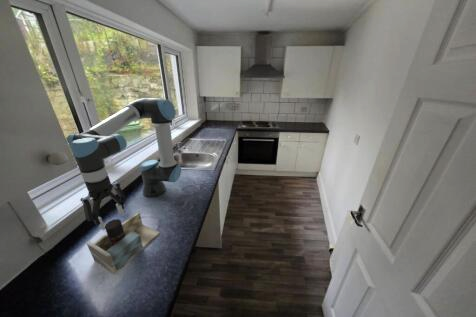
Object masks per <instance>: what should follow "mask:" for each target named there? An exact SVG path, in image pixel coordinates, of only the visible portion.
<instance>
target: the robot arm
mask: <svg viewBox="0 0 476 317" xmlns="http://www.w3.org/2000/svg"><path fill="white" fill-rule="evenodd" d="M175 118H176V109H175V106H174V104H173V102H172V101H170V100H169V99H166V98H153V97H151V98H149V97H142V98H139V99H136V100H133V101H131V102H129V103H127V104H126V105H124V106H123V108H122V109H121V110H119V111H117V112H116V113H114V114H112V115H111V116H108V117H107V118H105V119H104V120H102V121H100V122H98V123H97V124H95V125H93V126H92V127H89V128H87V129H86V130H85V131H83V132H81V133H79V132H76V133H71V134H69V135H68V136H67V137H66V138H65V140H66V139H67V141H68V143H69V145H70V148H71V149H70V151H71V153H72V156H73V157H74V160H75V162H76V164H77V166H78V169H79V172H80V175H81V177H82V180H83V181H84V184H85V187H86V189H87V191H88V195H87V196H85V197H81V198H80V199H79V201H81V202H82V206H83V211H84V217H85V220H86V221H88V222H92V221H93V223H94V224H95V225H96V226H98V227H99V229H100V230H101V231H106V229H105V223H104V221H103V218H102V217H101V216H99V215H100V210H101V203H102V202H103V200H104V199H105V198H108V197H110V199H112V200H113V201H115V202H116V203H115V207H116V209H117V212H118V216H120V217H122V218H124V217H125V216H126V215H125V212H124V209H125V206H124V205H125V202H126V201H127V197H126V195H125V194H124V192H123V190H122V187H121V184H120V183H119V182H118V181H114V182H113V183H111V179H110V177H109V175H108V174H109V173H108V171H107V167H106V165H105V161H104V160H105V159H108V158H109V157H112V156H114V155H116V154H118V153H121V152H122V151H124V150H125V149H126V148H127V145H128V143H127V140H126V138H125V136H123V135H121V134H120V133H119V132H120V131H122V130H123V129H124V128H126V127H127V126H129V125H130V124H131V123H133V122H138V121H139V120H142V119H150V121H151V124H153V125H154V130H155V136H156V140H157V141H156V143H157V147H158V154H159V160H160V161H159V160H158V159H150V160H146V161H144V162H142V163H141V164H140V166H139V167H140V171H139V172H140V173H141V178H142V182H143V185H142V195H143V196H145V197H149V198H150V197H152V198H153V197H157V196H160V195H162V194H163V193H165V192H166V185H165V184H164V182H168V183H175V182H177V181H179V180H180V177H181V175H182V167H181V166H180V165H178V162H177V160H175V156H174V154H175V153H174V147H173V139H172V131H171V124H172V123H173V120H174V119H175ZM113 189H114V190H115V193H116V194H117V195H118V197H117V196H116V194H114V193H113V192H112V190H113ZM91 198H92V202H93V203H92V205H91Z"/></svg>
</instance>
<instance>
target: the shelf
mask: <svg viewBox="0 0 476 317" xmlns="http://www.w3.org/2000/svg"><path fill="white" fill-rule="evenodd" d="M121 224H122V227H123V230H124V233H125V237H124V238H123V239H121V240H120V241H119V242H117V243H116V244H115V245H114V246H112V245H111V243H110V240H109V237H108V235H107V233H105V235H103V236H101V237H100V238H98V239H97V240H96V241H94V242H91V241H90V240H89V241H88V242H87V243H86V245H87V247H88V250H89V252H90V255H91V258H92V259H93V261H94V262H95V263H97V264H98V265H100V266H101V267H103V268H104V269H106V270H107V271H108V272H110V273H111V274H113V275H116V274H117V273H118V272H119V271H121V269H122V268H124V267H125V266H126V265H127V264H128V263H130V261H131V260H132V259H133V258H134V257H136V256H137V255H138V254H139V253H141V251H142V250H144V249H145V248H146V247H147V246H148V245H149V244H151V242H153V241H154V240H155V239H156V238H157V237H158V236H159V235H160V234H161V233H160V232H159V231H157V230H155V229H153V228H151V227H150V226H147V225H145V224H143V221H142V217H141V213H140V212H139V211H138V212H136V213H134V214H133V215H132V216H131V217H129V218H128V219H126V220H125V221H122V222H121Z"/></svg>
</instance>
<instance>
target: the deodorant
mask: <svg viewBox="0 0 476 317" xmlns="http://www.w3.org/2000/svg"><path fill="white" fill-rule="evenodd" d="M104 226H105V231H106V234H107V235H108V237H109V240H110V243H111V245H112V246H114V245H115V244H116V243H117V242H119V241H120V240H121V239H123V238H124V237H125V233H124V230H123V227H122V221H121V220H120V219H118V218H117V219H112V220H110V221H108V222H107V223H106V224H104Z"/></svg>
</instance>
